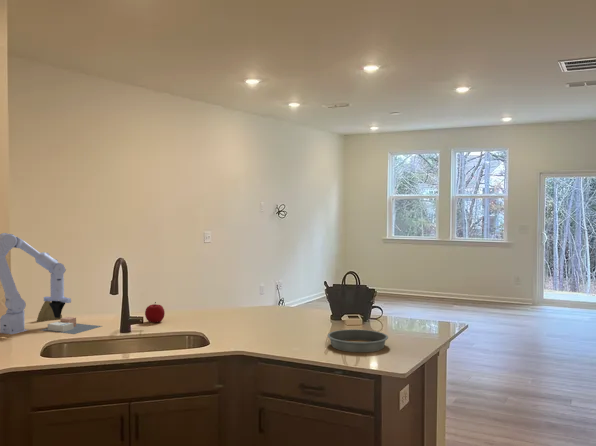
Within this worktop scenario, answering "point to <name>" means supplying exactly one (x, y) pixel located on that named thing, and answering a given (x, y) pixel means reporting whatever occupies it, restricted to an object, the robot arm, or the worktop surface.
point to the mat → (76, 329)
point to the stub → (69, 320)
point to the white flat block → (60, 326)
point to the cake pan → (356, 334)
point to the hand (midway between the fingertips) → (57, 317)
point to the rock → (46, 313)
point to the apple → (154, 313)
